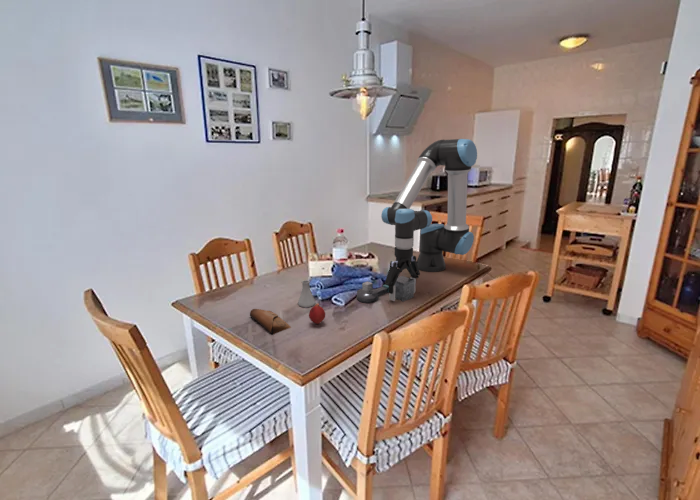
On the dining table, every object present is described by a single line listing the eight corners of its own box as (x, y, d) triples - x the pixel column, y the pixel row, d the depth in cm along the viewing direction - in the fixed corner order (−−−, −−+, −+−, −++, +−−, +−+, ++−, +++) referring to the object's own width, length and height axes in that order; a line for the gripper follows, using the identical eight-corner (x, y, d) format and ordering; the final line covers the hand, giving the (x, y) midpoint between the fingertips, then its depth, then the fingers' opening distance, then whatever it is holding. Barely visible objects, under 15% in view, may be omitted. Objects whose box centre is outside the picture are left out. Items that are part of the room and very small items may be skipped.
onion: (312, 329, 127) (311, 308, 125) (307, 322, 132) (306, 302, 130) (327, 325, 129) (327, 305, 127) (322, 319, 134) (321, 299, 132)
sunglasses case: (293, 327, 128) (283, 315, 125) (278, 341, 125) (268, 330, 122) (269, 310, 142) (260, 299, 138) (256, 323, 139) (246, 312, 135)
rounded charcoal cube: (401, 293, 157) (402, 275, 155) (413, 297, 152) (414, 279, 150) (391, 297, 153) (391, 279, 151) (403, 301, 148) (403, 283, 146)
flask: (308, 299, 152) (307, 277, 149) (319, 304, 147) (318, 281, 144) (294, 304, 147) (293, 281, 144) (305, 309, 142) (304, 286, 140)
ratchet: (390, 284, 167) (390, 270, 165) (405, 290, 160) (405, 275, 158) (352, 298, 152) (352, 283, 150) (367, 305, 145) (367, 288, 144)
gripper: (415, 240, 157) (413, 286, 163) (376, 250, 142) (375, 301, 147) (429, 243, 152) (427, 290, 157) (390, 254, 136) (389, 306, 142)
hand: (402, 295), depth 152 cm, fingers open, 12 cm apart
